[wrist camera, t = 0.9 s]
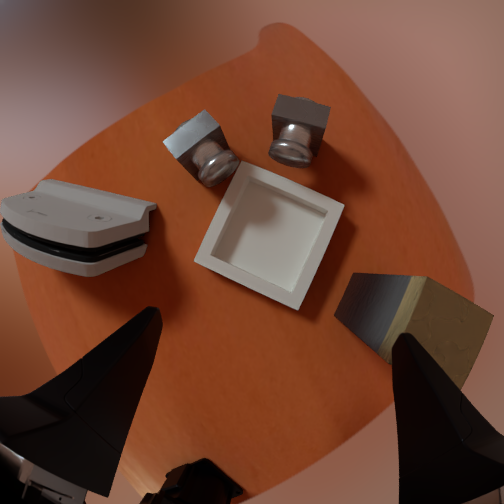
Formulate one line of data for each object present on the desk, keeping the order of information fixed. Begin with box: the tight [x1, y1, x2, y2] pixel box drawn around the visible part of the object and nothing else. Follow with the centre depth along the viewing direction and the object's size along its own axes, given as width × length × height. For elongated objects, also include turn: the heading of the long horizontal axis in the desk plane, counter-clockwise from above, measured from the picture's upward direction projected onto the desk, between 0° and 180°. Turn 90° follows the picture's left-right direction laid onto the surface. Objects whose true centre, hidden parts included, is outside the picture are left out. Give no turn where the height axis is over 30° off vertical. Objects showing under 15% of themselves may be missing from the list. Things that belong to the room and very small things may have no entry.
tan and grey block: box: [334, 273, 494, 390], centre depth 16 cm, size 5×4×13 cm
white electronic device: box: [0, 179, 157, 277], centre depth 22 cm, size 17×5×10 cm, turn 74°
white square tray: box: [194, 161, 344, 310], centre depth 23 cm, size 9×9×2 cm
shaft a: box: [268, 94, 331, 168], centre depth 21 cm, size 5×4×6 cm
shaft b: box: [163, 110, 239, 187], centre depth 22 cm, size 5×4×6 cm
